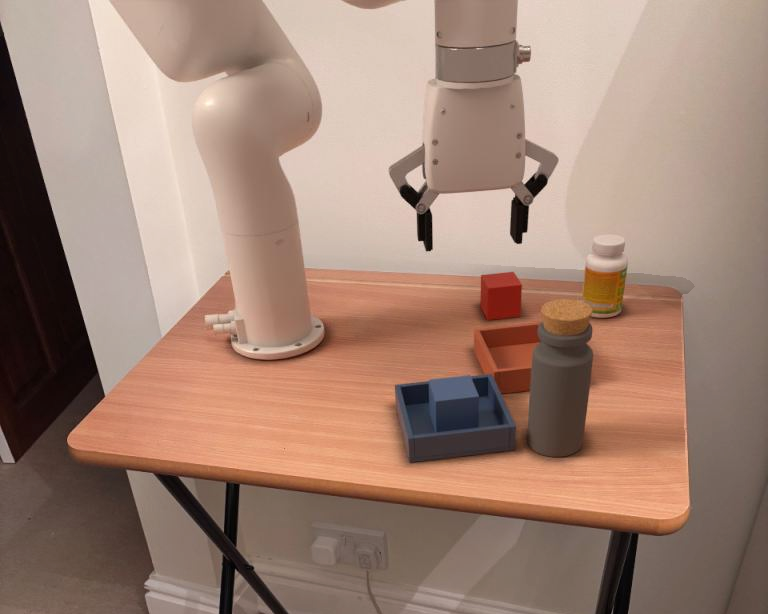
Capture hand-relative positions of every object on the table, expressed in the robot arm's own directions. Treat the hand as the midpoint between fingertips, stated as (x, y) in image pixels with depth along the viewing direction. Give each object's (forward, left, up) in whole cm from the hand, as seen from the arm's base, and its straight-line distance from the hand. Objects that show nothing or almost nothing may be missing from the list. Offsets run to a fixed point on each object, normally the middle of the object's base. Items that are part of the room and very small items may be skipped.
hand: (471, 243), depth 84 cm
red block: (+7, +16, -16) cm, 24 cm away
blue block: (-4, -11, -16) cm, 20 cm away
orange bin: (+7, 0, -16) cm, 18 cm away
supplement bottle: (+21, +13, -16) cm, 30 cm away
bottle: (+6, -16, -16) cm, 24 cm away
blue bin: (-4, -11, -16) cm, 20 cm away
